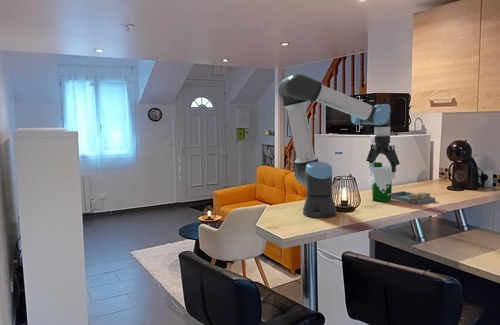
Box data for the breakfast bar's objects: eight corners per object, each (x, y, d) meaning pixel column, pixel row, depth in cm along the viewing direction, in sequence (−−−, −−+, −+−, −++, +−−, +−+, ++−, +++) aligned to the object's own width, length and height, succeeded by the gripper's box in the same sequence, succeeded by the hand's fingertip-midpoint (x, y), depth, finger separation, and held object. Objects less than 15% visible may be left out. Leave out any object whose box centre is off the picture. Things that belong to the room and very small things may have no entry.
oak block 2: (424, 202, 188) (424, 194, 187) (417, 200, 191) (417, 193, 191) (429, 201, 189) (429, 193, 189) (423, 199, 193) (423, 192, 193)
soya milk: (375, 199, 201) (376, 161, 199) (393, 200, 196) (393, 162, 194) (370, 202, 194) (370, 163, 192) (388, 204, 189) (388, 164, 187)
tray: (416, 205, 184) (416, 200, 183) (385, 198, 202) (385, 193, 201) (435, 202, 189) (435, 197, 189) (403, 195, 207) (403, 191, 207)
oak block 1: (416, 203, 186) (417, 195, 185) (409, 202, 189) (409, 194, 188) (420, 202, 188) (420, 194, 188) (412, 201, 191) (413, 193, 191)
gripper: (407, 135, 181) (407, 179, 184) (370, 134, 204) (370, 173, 206) (395, 136, 178) (395, 181, 181) (359, 135, 201) (359, 174, 203)
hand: (382, 177), depth 194 cm, fingers open, 13 cm apart
